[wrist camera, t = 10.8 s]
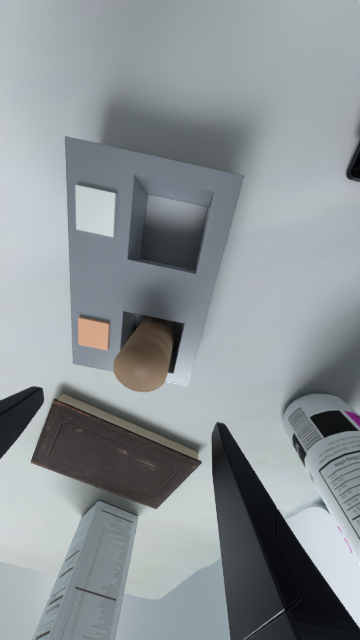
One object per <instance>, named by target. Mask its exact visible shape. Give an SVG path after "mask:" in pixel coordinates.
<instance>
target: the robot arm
mask: <svg viewBox="0 0 360 640" xmlns="http://www.w3.org/2000/svg"><path fill="white" fill-rule="evenodd" d="M355 169H357V173H355V172H354V171H355ZM347 177H348V179H350V180H354V181H358V182H360V144H359V146H358V149H357V151H356V153H355V155H354V158H353V160H352V162H351V164H350V167H349V169H348V171H347ZM43 402H44V394H43V389H42V388H41V387H36V386H33V387H30V388H28V389H25V390H23V391H21V392H19V393H16V394H14V395H12V396H9V397H7V398H5V399H3V400H0V459H1V458H2V457H3V455H4V454H5V453H6V452H7V451H8V449H9V448H10V447H11V446H12V445H13V443H14V442H15V441H16V440H17V439H18V437H19V436H20V435H21V434H22V432H23V431H24V429H25V428H26V427H27V425H28V424H29V423H30V421H31V420H32V418H33V417H34V416H35V414H36V413H37V411H38V410H39V409H40V407H41V406H42V404H43ZM212 474H213V484H214V493H215V502H216V511H217V521H218V530H219V539H220V548H221V557H222V566H223V575H224V584H225V593H226V602H227V610H228V620H229V628H230V638H231V640H360V628H359V627H358V625H357V624H356V623H355V621H354V620H353V618H352V617H351V616H350V614H349V613H348V611H347V610H346V609H345V607H344V606H343V604H342V603H341V602H340V600H339V599H338V597H337V596H336V594H335V593H334V592H333V590H332V589H331V587H330V586H329V584H328V583H327V582H326V580H325V579H324V577H323V576H322V575H321V573H320V572H319V570H318V569H317V567H316V566H315V565H314V563H313V562H312V560H311V559H310V557H309V556H308V554H307V553H306V552H305V550H304V549H303V547H302V546H301V544H300V543H299V541H298V540H297V538H296V537H295V535H294V534H293V532H292V530H291V529H290V527H289V526H288V524H287V523H286V521H285V519H284V518H283V516H282V515H281V513H280V511H279V510H278V509H277V507H276V505H275V504H274V502H273V500H272V499H271V497H270V496H269V494H268V492H267V491H266V489H265V488H264V486H263V484H262V483H261V481H260V480H259V478H258V476H257V475H256V473H255V471H254V470H253V468H252V467H251V465H250V463H249V462H248V460H247V459H246V457H245V455H244V454H243V452H242V451H241V449H240V447H239V446H238V444H237V443H236V441H235V439H234V438H233V436H232V435H231V433H230V431H229V430H228V428H227V427H226V425H225V424H224V423H219V422H217V423H216V424H215V427H214V430H213V432H212Z"/></svg>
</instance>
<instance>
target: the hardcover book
mask: <svg viewBox="0 0 360 640" xmlns="http://www.w3.org/2000/svg"><path fill="white" fill-rule="evenodd" d="M31 463H33V464H36V465H38V466H41V467H44V468H46V469H49V470H52V471H54V472H57V473H60V474H62V475H65V476H68V477H71V478H73V479H76V480H79V481H81V482H84V483H87V484H89V485H92V486H95V487H98V488H100V489H103V490H106V491H108V492H111V493H114V494H116V495H119V496H122V497H124V498H127V499H130V500H133V501H135V502H138V503H141V504H143V505H146V506H149V507H151V508H154V509H157V508H158V507H159V506H160V505H161V504H162V503H163V502H164V501H165V500H166V499H167V498H168V497H169V496H170V495H171V494H172V493H173V492H174V491H175V490H176V489H177V488H178V486H179V485H180V484H181V483H182V482H183V481H184V480H185V479H186V478H187V477H188V476H189V475H190V474H191V473H192V472H193V471H194V470H195V469H196V468H197V467H198V466H199V465H200V464H201V463H202V462H201V461H200V460H198V452H197V451H194V450H192V449H190V448H188V447H185V446H183V445H181V444H178V443H176V442H174V441H171V440H169V439H167V438H165V437H162V436H160V435H158V434H155V433H153V432H151V431H148V430H146V429H144V428H142V427H139V426H137V425H135V424H132V423H130V422H128V421H125V420H123V419H121V418H119V417H116V416H114V415H112V414H109V413H107V412H105V411H103V410H100V409H98V408H96V407H93V406H91V405H89V404H86V403H84V402H82V401H80V400H77V399H75V398H73V397H70V396H68V395H66V394H62V395H60V396H59V398H58V400H57V399H54V400H53V403H52V405H51V408H50V411H49V414H48V416H47V419H46V422H45V424H44V427H43V430H42V433H41V435H40V438H39V441H38V443H37V446H36V449H35V452H34V454H33V457H32V460H31Z"/></svg>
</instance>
